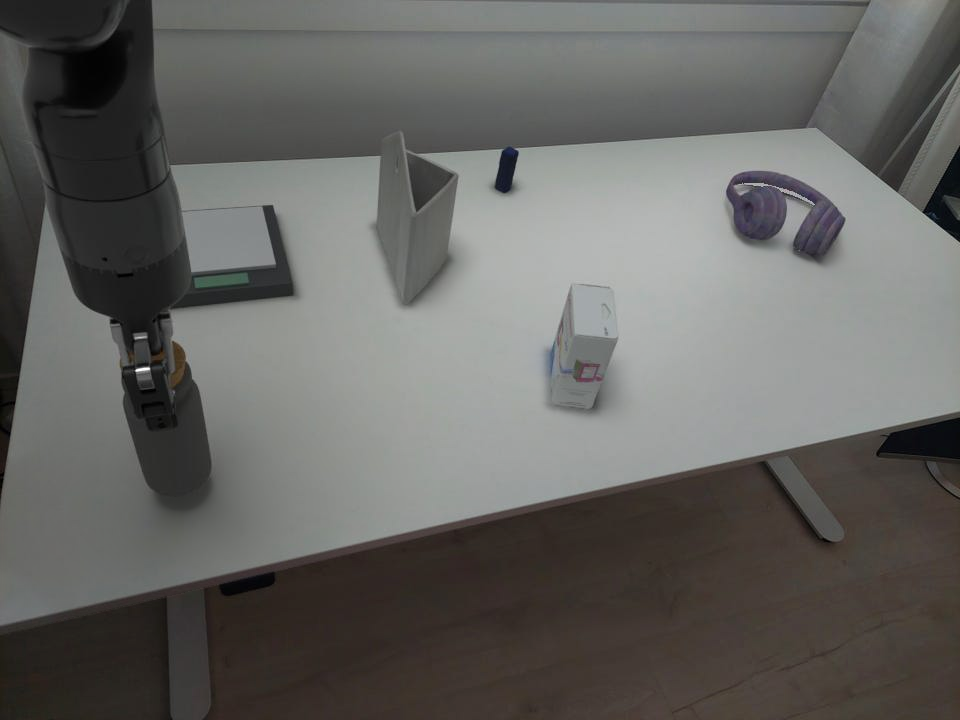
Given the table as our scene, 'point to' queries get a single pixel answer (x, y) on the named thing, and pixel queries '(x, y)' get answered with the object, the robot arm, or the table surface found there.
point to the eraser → (506, 169)
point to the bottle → (173, 436)
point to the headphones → (783, 211)
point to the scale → (234, 256)
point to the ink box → (583, 345)
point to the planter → (413, 214)
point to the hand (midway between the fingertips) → (161, 395)
